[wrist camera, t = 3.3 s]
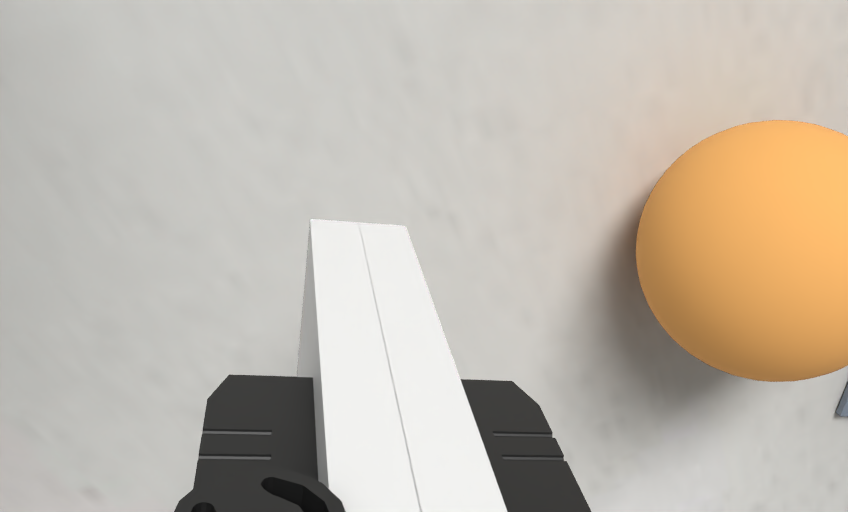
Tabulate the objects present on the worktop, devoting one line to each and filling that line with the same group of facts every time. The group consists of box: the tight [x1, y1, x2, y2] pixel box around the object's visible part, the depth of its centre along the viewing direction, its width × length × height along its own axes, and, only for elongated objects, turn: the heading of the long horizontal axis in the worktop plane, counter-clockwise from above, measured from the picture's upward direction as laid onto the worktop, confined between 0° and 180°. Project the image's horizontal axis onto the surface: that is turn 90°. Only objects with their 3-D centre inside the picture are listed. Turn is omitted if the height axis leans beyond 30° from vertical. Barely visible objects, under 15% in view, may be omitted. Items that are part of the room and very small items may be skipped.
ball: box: [636, 120, 848, 382], centre depth 17 cm, size 6×6×6 cm
